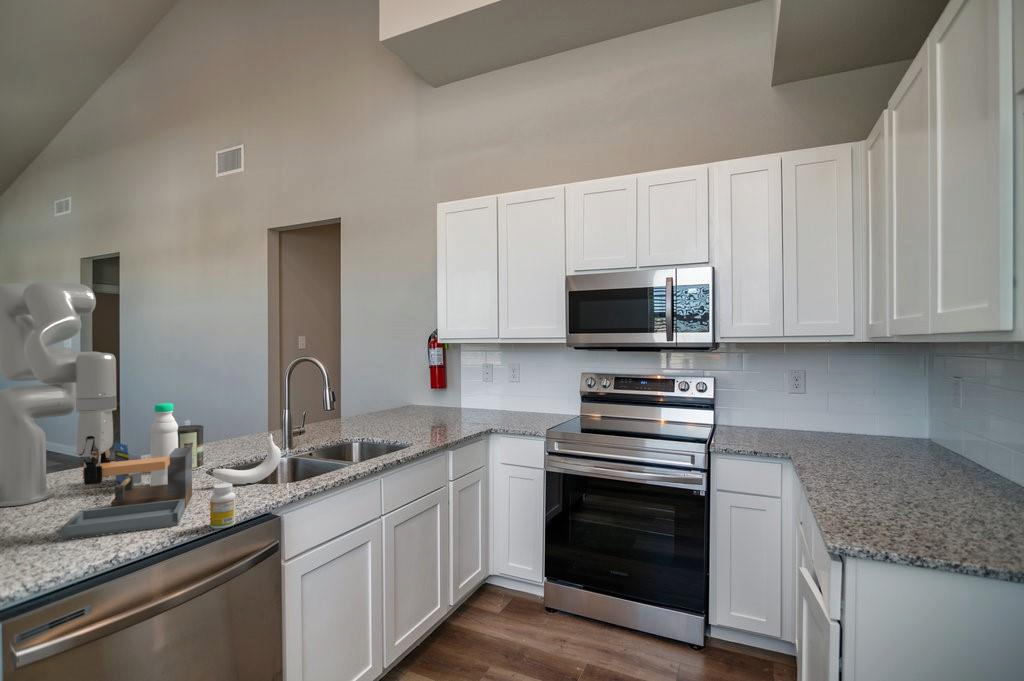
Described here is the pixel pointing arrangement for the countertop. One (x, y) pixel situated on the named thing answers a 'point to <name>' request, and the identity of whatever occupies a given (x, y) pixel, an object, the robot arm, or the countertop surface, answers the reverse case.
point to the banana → (255, 473)
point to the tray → (124, 519)
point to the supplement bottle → (222, 506)
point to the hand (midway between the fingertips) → (97, 479)
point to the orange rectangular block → (134, 466)
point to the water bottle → (163, 439)
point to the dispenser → (174, 490)
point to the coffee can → (192, 442)
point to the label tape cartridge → (125, 456)
